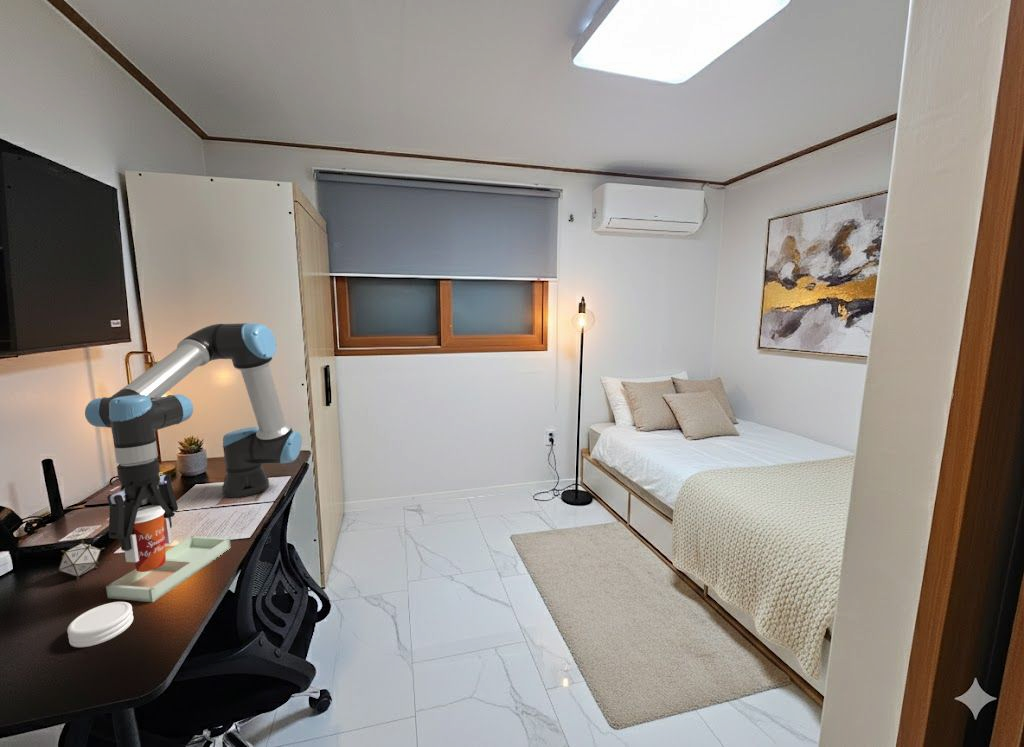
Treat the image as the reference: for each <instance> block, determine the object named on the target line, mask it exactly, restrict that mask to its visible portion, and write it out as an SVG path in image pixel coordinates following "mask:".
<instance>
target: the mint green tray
mask: <svg viewBox="0 0 1024 747" xmlns="http://www.w3.org/2000/svg"><path fill="white" fill-rule="evenodd" d="M230 548H231V549H232V546H231V539H230V538H227V537H226V538H225V537H212V536H211V537H209V536H195V535H194V536H193V535H191V536H190V537H188V538H187V539H185V540H183V541H181V542H180V543H178V544H176V545H174V546H173V547H171V548H169V549H168V550H165V553H166V562H165V563H164V564H163V565H162V566H160V567H159V568H156V569H154V570H151V571H146V572H138V571H137V570H136V568H134V569H133V570H132V571H130V572H128V573H126V574H124V575H123V576H121V577H119V578H118V579H116V580H114V581H112V582H111V583H109V584H107V585H106V586H105V590H106V596H107V599H112V600H113V599H116V600H124V601H125V600H126V601H134V602H135V601H137V602H146V603H154V602H156V601H157V600H159V598H161V597H162V596H164V595H166V594H167V593H168V592H171V591H172V590H173V589H174V588H176V587H177V586H178V585H180V584H181V583H183V582H185V581H186V580H188V578H191V577H192V576H193V575H194V574H196V573H197V572H199V571H200V570H202V569H203V568H205V567H206V566H208V565H209V564H211V563H213V562H214V561H215V560H217V559H218V558H219V557H221V556H222V555H224V554H225V553H226V551H227V550H228V551H230V550H231V549H230ZM229 549H230V550H229ZM228 551H227V552H228ZM224 552H225V553H224ZM223 553H224V554H223ZM220 555H221V556H220ZM217 557H218V558H217ZM216 558H217V559H216ZM213 560H214V561H213Z"/></svg>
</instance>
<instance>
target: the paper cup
mask: <svg viewBox="0 0 1024 747" xmlns="http://www.w3.org/2000/svg"><path fill="white" fill-rule="evenodd" d="M164 513H165V511H164V510H163V509H162V507H161V506H159V505H152V504H151V505H146V506H141V507H140V506H139V507H138V511H137V515H136V519H135V523H134V527H133V531H132V534H135V535H136V541H137V548H138V556H139V561H138V562H134V566H135V569H136V570H137V571H138V572H146V571H151V570H154V569H156V568H159V567H160V566H162V565H163V564H164V563H165V562H166V553H165V552H166V543H165V533H164V515H163V514H164Z"/></svg>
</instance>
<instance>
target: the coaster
mask: <svg viewBox="0 0 1024 747" xmlns="http://www.w3.org/2000/svg"><path fill="white" fill-rule="evenodd" d="M133 614H134V612H133V606H132V604H131V603H129V602H126V601H113V602H109V603H104V604H101V605H99V606H95V607H93V608H91V609H89V610H87V611H85V612H83V613H81V614H80V615H78V616H77V617H76V618H75V619H74V620H72V621H71V622H70V624H68V627H67V628H66V629H67V630H66V631H67V638H68V642H69V644H70V646H72V647H74V648H88V647H92V646H96V645H99V644H102V643H105V642H107V641H110V640H112V639H113V638H116V637H117V636H119V635H120V634H122V633H124V632H125V631H126V630H127V629H128V628H129V627H130V626H131V624H132V623H133V622H134V615H133Z"/></svg>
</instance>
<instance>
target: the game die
mask: <svg viewBox="0 0 1024 747" xmlns="http://www.w3.org/2000/svg"><path fill="white" fill-rule="evenodd" d="M84 542H85V541H84V540H83V539H82V540H81V541H80V543H79V544H78V545H75V546H74V547H72V548H70V549H68V550H66V551H65V550H61V553H63V555H61V562H60V564H59V567H58V569H55V571H54V574H55V573H58V572H61V573H65V574H68V575H71V576H74V577H76V580H77V581H79V580H80V576H82V575H84V574H85V573H88V572H89V571H91V570H92V569H99V567H98V566H97V565H98V564H100V563H99V561H98V560H99V557H100V554H101V551H104V549H105V547H101V548H98V547H95V546H92V545H89V544H87V543H84Z"/></svg>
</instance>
